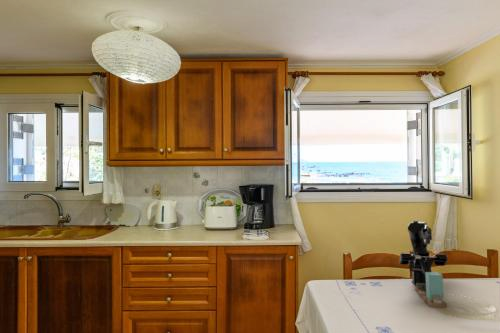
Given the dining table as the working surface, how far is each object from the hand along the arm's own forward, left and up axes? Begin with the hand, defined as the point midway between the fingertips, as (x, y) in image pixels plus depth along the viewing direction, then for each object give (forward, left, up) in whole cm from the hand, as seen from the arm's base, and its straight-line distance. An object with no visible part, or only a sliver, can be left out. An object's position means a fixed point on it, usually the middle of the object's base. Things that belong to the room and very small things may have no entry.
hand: (427, 276), depth 141 cm
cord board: (0, -2, -8) cm, 9 cm away
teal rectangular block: (0, -8, -7) cm, 11 cm away
